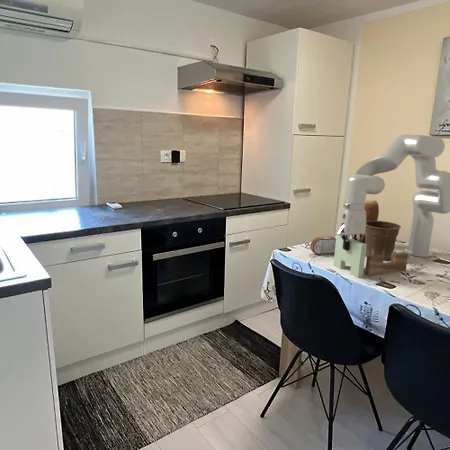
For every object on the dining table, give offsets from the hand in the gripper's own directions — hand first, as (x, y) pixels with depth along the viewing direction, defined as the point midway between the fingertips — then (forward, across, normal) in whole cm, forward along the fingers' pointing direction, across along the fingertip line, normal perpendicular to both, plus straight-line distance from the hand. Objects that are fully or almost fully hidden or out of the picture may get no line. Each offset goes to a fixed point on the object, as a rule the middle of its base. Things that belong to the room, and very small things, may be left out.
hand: (349, 249), depth 156 cm
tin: (+10, +5, +23) cm, 26 cm away
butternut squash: (+10, +34, +30) cm, 46 cm away
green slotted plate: (+10, 0, 0) cm, 10 cm away
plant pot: (+10, +28, +12) cm, 32 cm away
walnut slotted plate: (+10, +15, -6) cm, 19 cm away
